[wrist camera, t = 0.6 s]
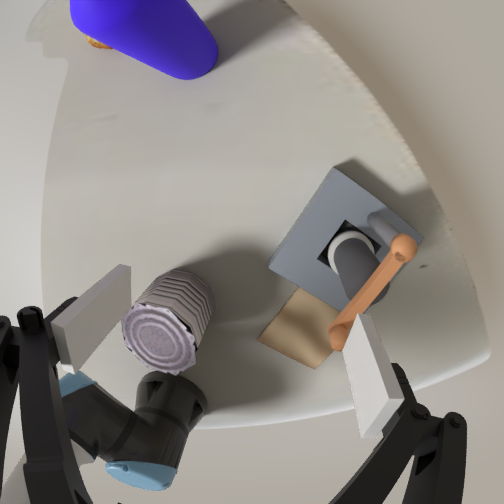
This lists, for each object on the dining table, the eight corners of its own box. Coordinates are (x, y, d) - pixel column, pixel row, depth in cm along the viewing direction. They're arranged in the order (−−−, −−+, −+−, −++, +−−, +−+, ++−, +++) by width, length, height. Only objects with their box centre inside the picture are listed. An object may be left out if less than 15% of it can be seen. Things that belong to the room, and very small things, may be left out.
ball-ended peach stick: (339, 336, 31) (343, 355, 28) (321, 326, 31) (324, 344, 28) (417, 242, 27) (430, 253, 24) (400, 228, 26) (412, 238, 23)
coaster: (314, 367, 50) (314, 369, 49) (257, 338, 49) (257, 340, 48) (358, 320, 45) (359, 323, 45) (299, 285, 44) (299, 287, 44)
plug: (349, 272, 43) (369, 319, 31) (316, 250, 42) (327, 293, 30) (374, 239, 41) (405, 277, 28) (341, 215, 40) (363, 246, 28)
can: (188, 339, 50) (166, 385, 39) (139, 297, 49) (106, 336, 37) (230, 303, 47) (213, 349, 36) (176, 254, 45) (143, 290, 34)
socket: (353, 311, 45) (371, 364, 33) (269, 259, 43) (262, 305, 31) (415, 231, 39) (457, 264, 27) (332, 167, 38) (353, 177, 26)
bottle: (232, 45, 33) (136, -92, 5) (197, 91, 36) (40, 21, 8) (186, 23, 32) (61, -86, 4) (154, 67, 35) (-10, 7, 7)
